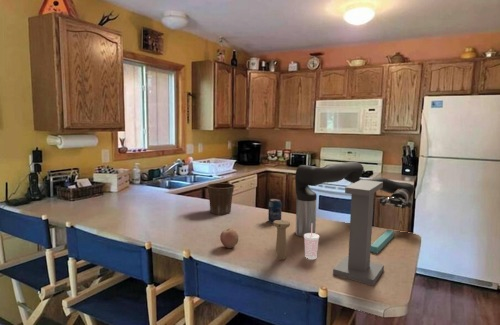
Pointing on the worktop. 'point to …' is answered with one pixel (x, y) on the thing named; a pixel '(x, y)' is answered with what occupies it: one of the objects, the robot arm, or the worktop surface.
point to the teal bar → (382, 241)
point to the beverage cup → (311, 244)
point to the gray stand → (360, 235)
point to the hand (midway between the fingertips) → (392, 205)
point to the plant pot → (220, 197)
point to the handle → (281, 238)
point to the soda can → (274, 210)
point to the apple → (229, 238)
